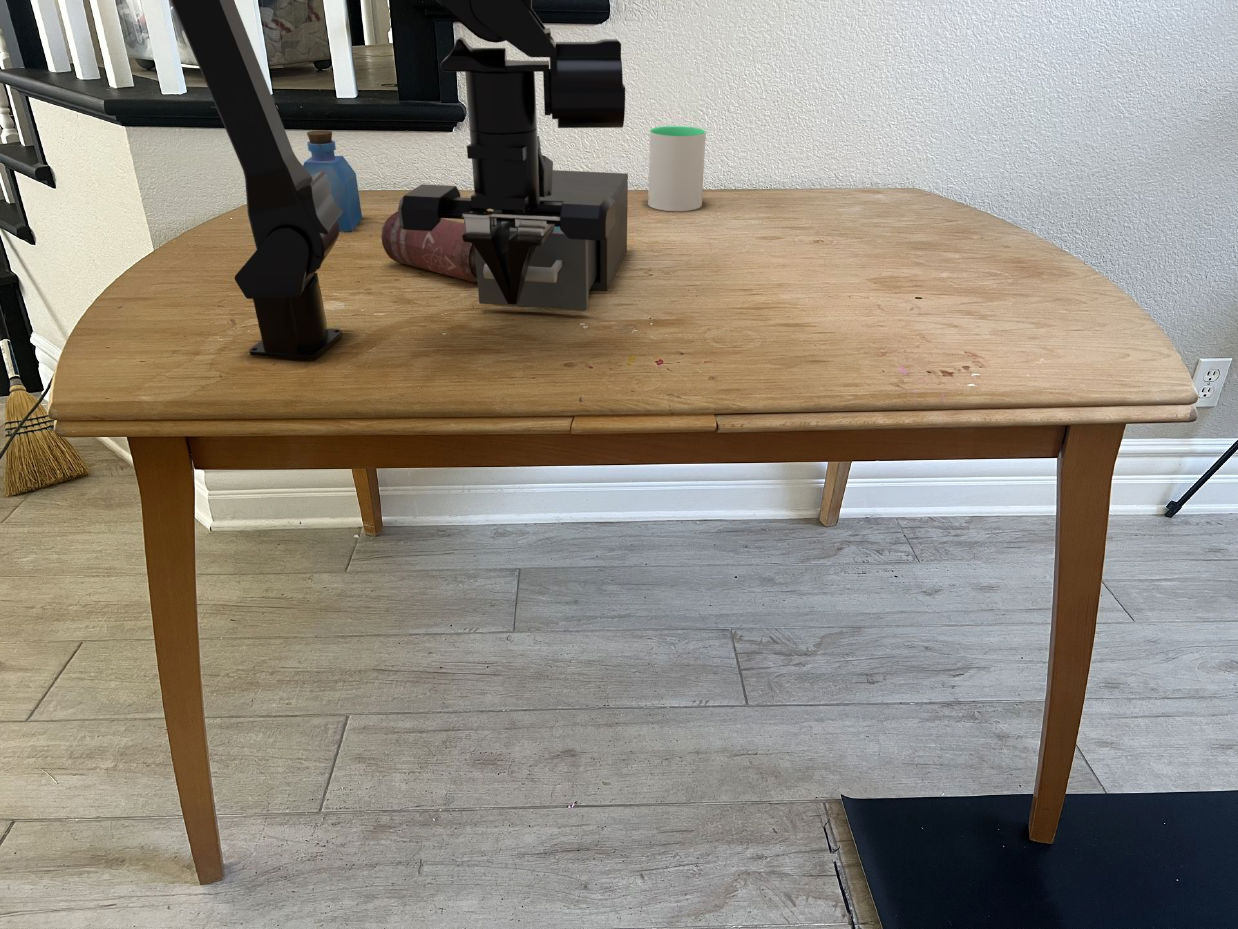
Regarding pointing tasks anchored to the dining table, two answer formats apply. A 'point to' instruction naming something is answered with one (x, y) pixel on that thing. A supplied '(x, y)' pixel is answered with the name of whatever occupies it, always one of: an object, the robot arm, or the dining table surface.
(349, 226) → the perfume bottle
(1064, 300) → the dining table surface
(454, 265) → the can
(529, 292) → the drawer
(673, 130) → the mug
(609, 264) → the cabinet
